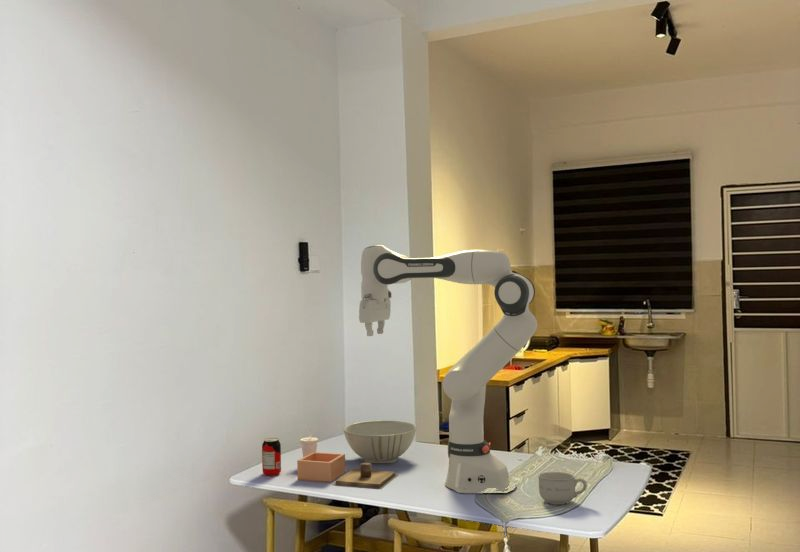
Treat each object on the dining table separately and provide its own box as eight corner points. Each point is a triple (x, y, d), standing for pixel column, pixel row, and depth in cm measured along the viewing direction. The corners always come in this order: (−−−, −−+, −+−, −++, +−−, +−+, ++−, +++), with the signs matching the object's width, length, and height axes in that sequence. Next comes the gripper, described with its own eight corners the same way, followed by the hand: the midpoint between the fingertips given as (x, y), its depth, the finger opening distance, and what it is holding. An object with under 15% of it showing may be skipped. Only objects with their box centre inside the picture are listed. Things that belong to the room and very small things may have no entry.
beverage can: (285, 473, 247) (284, 438, 247) (272, 477, 242) (271, 442, 242) (271, 470, 250) (270, 436, 250) (258, 475, 245) (258, 440, 245)
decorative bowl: (391, 474, 243) (391, 438, 243) (329, 464, 257) (328, 431, 258) (430, 456, 266) (429, 424, 266) (370, 448, 280) (370, 418, 280)
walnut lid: (395, 475, 239) (394, 459, 239) (379, 488, 225) (379, 471, 225) (353, 472, 244) (353, 457, 244) (335, 484, 230) (335, 468, 230)
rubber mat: (398, 476, 240) (398, 474, 240) (381, 491, 224) (381, 489, 224) (352, 472, 245) (352, 471, 245) (331, 486, 229) (331, 485, 229)
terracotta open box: (345, 474, 244) (345, 454, 244) (330, 484, 232) (330, 462, 232) (313, 472, 248) (313, 451, 248) (297, 481, 236) (297, 460, 236)
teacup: (532, 504, 209) (532, 476, 209) (547, 494, 218) (546, 468, 218) (579, 511, 201) (578, 483, 201) (591, 501, 210) (591, 474, 210)
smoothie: (315, 468, 252) (314, 429, 252) (298, 468, 253) (297, 428, 253) (320, 464, 258) (320, 425, 258) (304, 463, 260) (303, 425, 260)
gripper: (372, 294, 228) (372, 337, 228) (393, 292, 247) (394, 332, 247) (353, 294, 230) (354, 337, 230) (376, 293, 249) (377, 332, 249)
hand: (375, 334), depth 239 cm, fingers open, 8 cm apart
